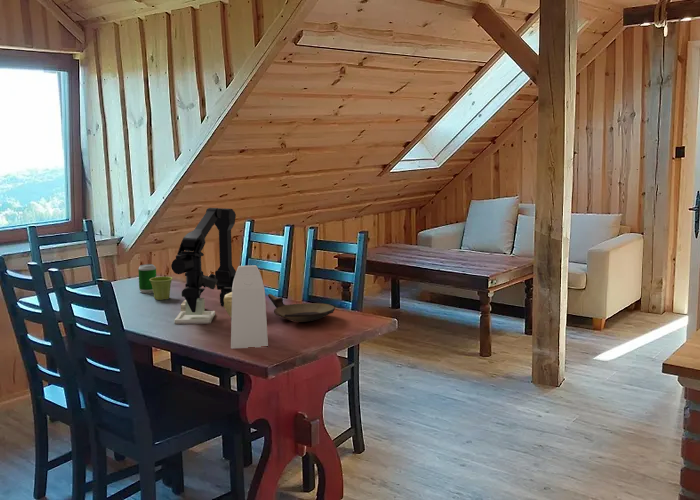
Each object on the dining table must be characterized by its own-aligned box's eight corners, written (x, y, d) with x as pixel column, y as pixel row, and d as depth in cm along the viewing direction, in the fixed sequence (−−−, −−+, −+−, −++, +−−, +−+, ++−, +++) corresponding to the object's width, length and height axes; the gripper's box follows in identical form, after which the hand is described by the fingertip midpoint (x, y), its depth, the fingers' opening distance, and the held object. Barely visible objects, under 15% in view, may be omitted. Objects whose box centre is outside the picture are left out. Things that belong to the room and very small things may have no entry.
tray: (215, 314, 267) (214, 310, 267) (210, 323, 254) (210, 319, 254) (181, 315, 267) (180, 311, 266) (174, 323, 254) (174, 319, 253)
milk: (266, 337, 237) (265, 262, 233) (268, 346, 226) (266, 268, 222) (231, 338, 235) (229, 263, 231) (230, 348, 224) (228, 269, 220)
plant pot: (167, 301, 289) (166, 281, 288) (146, 300, 291) (145, 280, 290) (177, 296, 298) (176, 277, 297) (156, 295, 300) (156, 276, 299)
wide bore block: (204, 308, 277) (204, 300, 277) (201, 313, 269) (201, 304, 269) (184, 308, 277) (184, 300, 276) (181, 313, 269) (180, 304, 268)
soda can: (154, 293, 304) (153, 266, 303) (137, 293, 305) (135, 266, 303) (159, 290, 312) (157, 263, 310) (142, 289, 312) (141, 263, 310)
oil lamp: (292, 332, 243) (292, 311, 242) (258, 314, 269) (257, 295, 268) (347, 323, 255) (347, 303, 254) (309, 307, 280) (309, 288, 279)
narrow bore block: (204, 310, 263) (204, 298, 263) (202, 314, 257) (201, 301, 257) (188, 311, 263) (188, 298, 262) (185, 314, 257) (185, 301, 256)
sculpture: (220, 320, 260) (219, 292, 258) (235, 312, 271) (234, 285, 269) (247, 322, 256) (247, 294, 254) (261, 314, 267) (261, 287, 266)
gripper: (211, 274, 249) (213, 316, 251) (218, 264, 267) (219, 304, 270) (180, 274, 248) (182, 316, 251) (189, 265, 267) (191, 304, 269)
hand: (195, 310), depth 260 cm, fingers closed on narrow bore block, 6 cm apart
